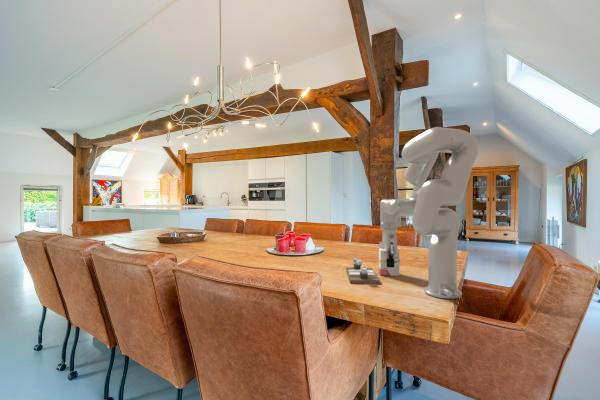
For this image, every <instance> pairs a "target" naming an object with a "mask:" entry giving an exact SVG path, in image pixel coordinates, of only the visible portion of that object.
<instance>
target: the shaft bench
mask: <svg viewBox="0 0 600 400" xmlns="http://www.w3.org/2000/svg"><path fill="white" fill-rule="evenodd" d="M352 263H353V267H350V266H349V267H346V270H345V271H346V273H347V276H348V277H347V278H348V281H349V283H350V284H357V285H358V284H361V285H362V284H366V285H372V284H373V285H379V284H380V279H379V278H378V275H377V274H376V273H375V271H374V270H373V268H372V267H366V265H363V261H362V260H361V259H359V258H357V257H356V258H352Z"/></svg>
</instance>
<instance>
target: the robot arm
mask: <svg viewBox="0 0 600 400" xmlns="http://www.w3.org/2000/svg"><path fill="white" fill-rule="evenodd" d="M478 152H479V144H478V141H477V139H476V137H475V136H474V135H473V133H470V131H466V130H463V129H459V128H452V127H451V128H450V127H441V126H435V127H431V128H428V129H427V130H424V131H423V132H421V133H420V134H418V135H416V136H415V137H413V138H412V139H410V140H409V141H407V142H406V143H405V145H404V146H403V148H402V150H401V158H402V160H403V161H404V163H407V164H408V166H407V168H406V171H405V173H404V176H403V178H404V179H405V181H406V182H407V183H409V184H410V185H412V186H413V189H412V193H411V194H410V197H409V198H397V199H396V198H394V199H393V198H392V199H389V198H388V199H382V200H381V201H380V203H379V208H380V209H379V211H380V212H379V215H380V216H379V219H380V221H379V222H380V223H379V224H380V225H379V226H380V230H382V232H381V233H382V235H381V237H382V241H381V242H383V249H385V250H386V252H387V267H394V251H396V252H397V249H398V237H397V230H398V217H410V216H411V221H412V222H411V223H412V227H413V229H414V231H415V232H416V234H418V235H421V236H430V238H429V241H428V246H427V247H428V248H427V249H428V252H427V253H428V255H427V256H428V262H427V263H428V266H427V267H428V276H427V277H428V285H426V286H424V287H423V292H424V293H425V294H427V295H428V296H431V297H433V298H434V297H435V298H439V299H445V300H447V299H448V300H449V299H450V300H453V299H459V298H461V297H462V296H463V292H462V291H461V290H460V289H459V288H458V237H459V236H458V235H459V233H460V225H461V219H460V216H459V214H458V213H457V212H456V211H455V210H453V209H452V208H448V207H453V206H457V205H459V204H460V203H461V202H462V201H463V199H464V197H465V193H466V189H467V185H468V184H469V183H468V182H469V180H470V176H471V173H472V170H473V166H474V164H475V162H476V159H477V156H478ZM439 153H443V154H445V153H446V154H451V156H450V157H449V158H448V159H447V161H446V163H445V164H444V167H443V170H442V174H441V177H440V178H439V179H438V178H437V179H436V178H434V179H433V178H432V179H429V180H427V179H428V177H429V175H430V172H431V171H432V170H433V167H434V166H435V163H436V161H437V159H438V157H439ZM388 250H390V251H388Z"/></svg>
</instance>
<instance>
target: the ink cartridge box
mask: <svg viewBox="0 0 600 400" xmlns="http://www.w3.org/2000/svg"><path fill="white" fill-rule="evenodd" d="M378 246H379V248H378V274H379V275H380V276H384V277H385V276H386V277H387V276H388V277H390V276H391V277H399V276H400V259H401V258H400V257H401V256H400V252H401V251H400V249H398V248H397V252H396V251H394V267H387V252H386V250H385V249H383V242H382V241H379V245H378ZM388 251H390V250H388Z"/></svg>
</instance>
